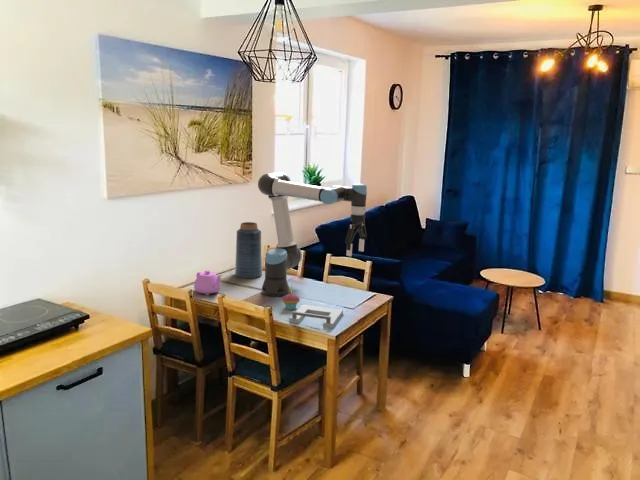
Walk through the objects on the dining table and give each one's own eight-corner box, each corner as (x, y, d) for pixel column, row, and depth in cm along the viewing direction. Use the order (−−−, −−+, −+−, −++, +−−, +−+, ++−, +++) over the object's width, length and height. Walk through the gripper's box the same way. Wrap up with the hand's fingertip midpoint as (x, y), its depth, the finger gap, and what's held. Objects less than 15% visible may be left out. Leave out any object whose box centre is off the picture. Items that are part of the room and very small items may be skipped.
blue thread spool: (233, 271, 323) (233, 221, 316) (260, 270, 327) (260, 221, 320) (236, 279, 307) (236, 226, 301) (263, 278, 311) (264, 226, 304)
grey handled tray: (289, 321, 245) (289, 311, 244) (302, 308, 264) (302, 298, 263) (332, 328, 240) (332, 317, 238) (342, 313, 258) (343, 303, 257)
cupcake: (282, 305, 267) (282, 282, 265) (298, 305, 268) (299, 282, 265) (282, 310, 259) (283, 287, 256) (299, 311, 260) (300, 287, 257)
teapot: (231, 293, 282) (231, 271, 279) (211, 300, 271) (211, 277, 268) (206, 285, 294) (206, 264, 291) (186, 291, 282) (185, 270, 280)
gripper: (352, 218, 259) (350, 259, 264) (374, 211, 280) (372, 250, 285) (339, 215, 263) (337, 256, 268) (362, 210, 284) (359, 248, 288)
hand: (355, 253), depth 276 cm, fingers open, 13 cm apart
